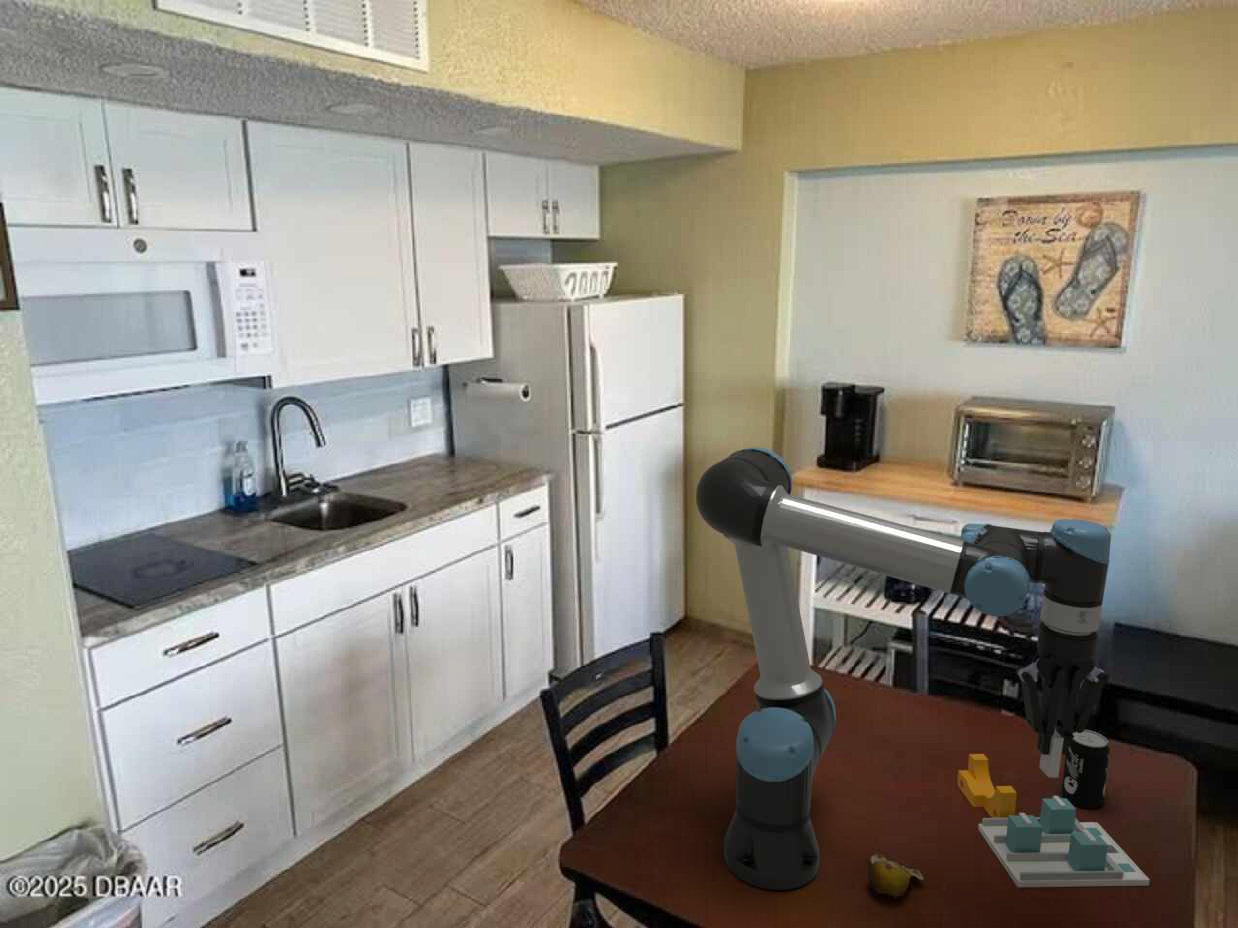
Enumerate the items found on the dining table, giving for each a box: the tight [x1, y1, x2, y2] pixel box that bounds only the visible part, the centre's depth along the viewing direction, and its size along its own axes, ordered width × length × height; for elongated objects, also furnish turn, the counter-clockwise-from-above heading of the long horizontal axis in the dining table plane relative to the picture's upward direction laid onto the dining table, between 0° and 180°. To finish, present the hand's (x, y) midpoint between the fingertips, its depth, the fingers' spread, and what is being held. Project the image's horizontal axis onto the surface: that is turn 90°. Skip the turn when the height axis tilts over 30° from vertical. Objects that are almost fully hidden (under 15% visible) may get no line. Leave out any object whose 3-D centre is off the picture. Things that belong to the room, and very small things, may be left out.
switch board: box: [977, 816, 1151, 888], centre depth 133 cm, size 20×14×2 cm
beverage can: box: [1061, 729, 1111, 809], centre depth 147 cm, size 7×7×12 cm
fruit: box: [867, 853, 924, 898], centre depth 127 cm, size 8×8×4 cm
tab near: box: [1068, 830, 1108, 871], centre depth 128 cm, size 4×3×6 cm
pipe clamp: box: [957, 753, 1018, 818], centre depth 146 cm, size 12×4×6 cm, turn 2°
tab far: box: [1039, 795, 1077, 834], centre depth 137 cm, size 4×3×6 cm
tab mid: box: [1006, 812, 1043, 853], centre depth 132 cm, size 4×3×6 cm
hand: (1048, 771), depth 125 cm, fingers closed
